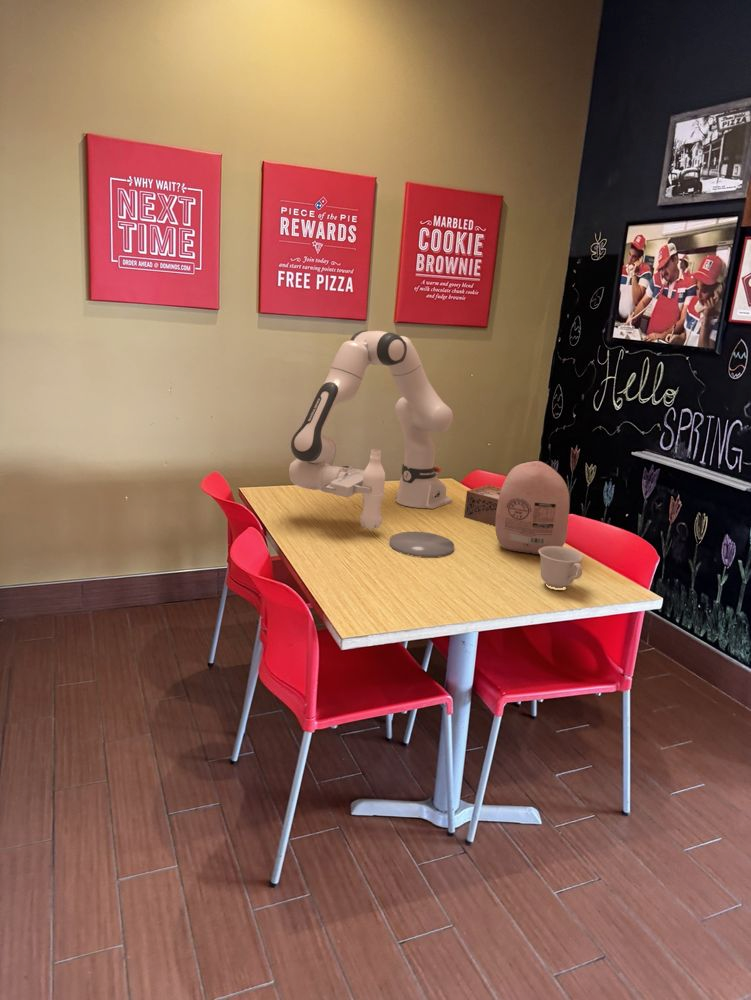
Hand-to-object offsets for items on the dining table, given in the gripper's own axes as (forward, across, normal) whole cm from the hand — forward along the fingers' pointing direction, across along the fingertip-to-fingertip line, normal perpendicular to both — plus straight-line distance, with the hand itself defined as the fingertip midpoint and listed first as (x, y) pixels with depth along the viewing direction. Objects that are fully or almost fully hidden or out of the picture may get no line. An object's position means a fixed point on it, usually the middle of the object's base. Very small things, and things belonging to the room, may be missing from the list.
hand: (375, 487), depth 226 cm
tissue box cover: (+34, +39, +16) cm, 55 cm away
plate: (+17, -1, +16) cm, 23 cm away
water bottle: (-1, 0, +13) cm, 13 cm away
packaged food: (+47, +12, +16) cm, 52 cm away
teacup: (+61, -12, +16) cm, 64 cm away
